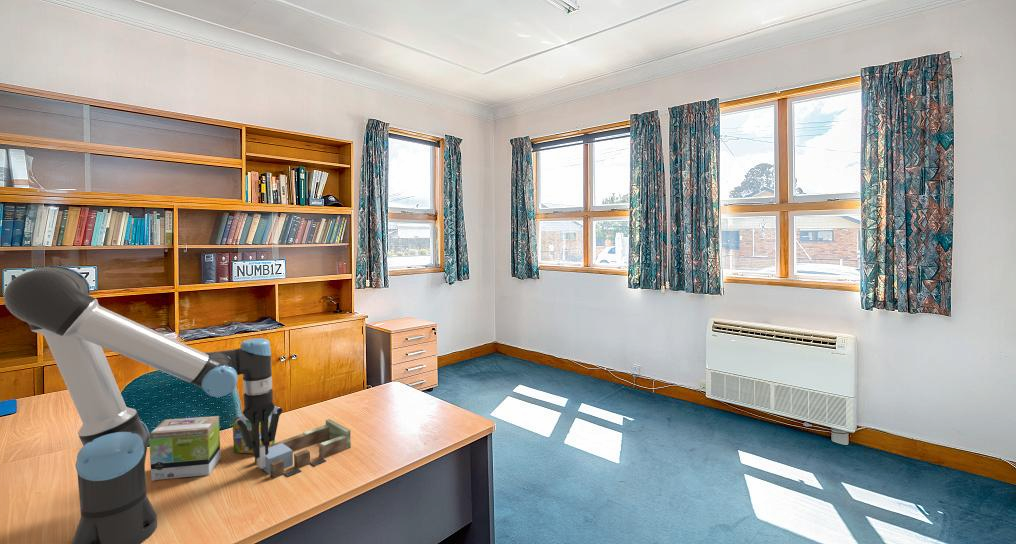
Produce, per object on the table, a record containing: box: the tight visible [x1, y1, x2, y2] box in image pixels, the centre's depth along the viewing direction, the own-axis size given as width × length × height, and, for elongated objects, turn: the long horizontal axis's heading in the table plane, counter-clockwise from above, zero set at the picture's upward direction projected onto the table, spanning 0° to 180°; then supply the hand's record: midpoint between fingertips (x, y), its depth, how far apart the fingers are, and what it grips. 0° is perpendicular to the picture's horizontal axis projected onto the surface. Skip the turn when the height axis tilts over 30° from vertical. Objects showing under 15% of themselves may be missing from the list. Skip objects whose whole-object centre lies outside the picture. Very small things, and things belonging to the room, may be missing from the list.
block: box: [262, 443, 294, 476], centre depth 139 cm, size 7×7×5 cm
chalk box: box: [231, 412, 276, 454], centre depth 149 cm, size 9×9×15 cm
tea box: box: [148, 415, 221, 482], centre depth 135 cm, size 15×10×15 cm
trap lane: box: [254, 418, 352, 479], centre depth 145 cm, size 25×16×6 cm, turn 140°
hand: (261, 466), depth 136 cm, fingers closed
